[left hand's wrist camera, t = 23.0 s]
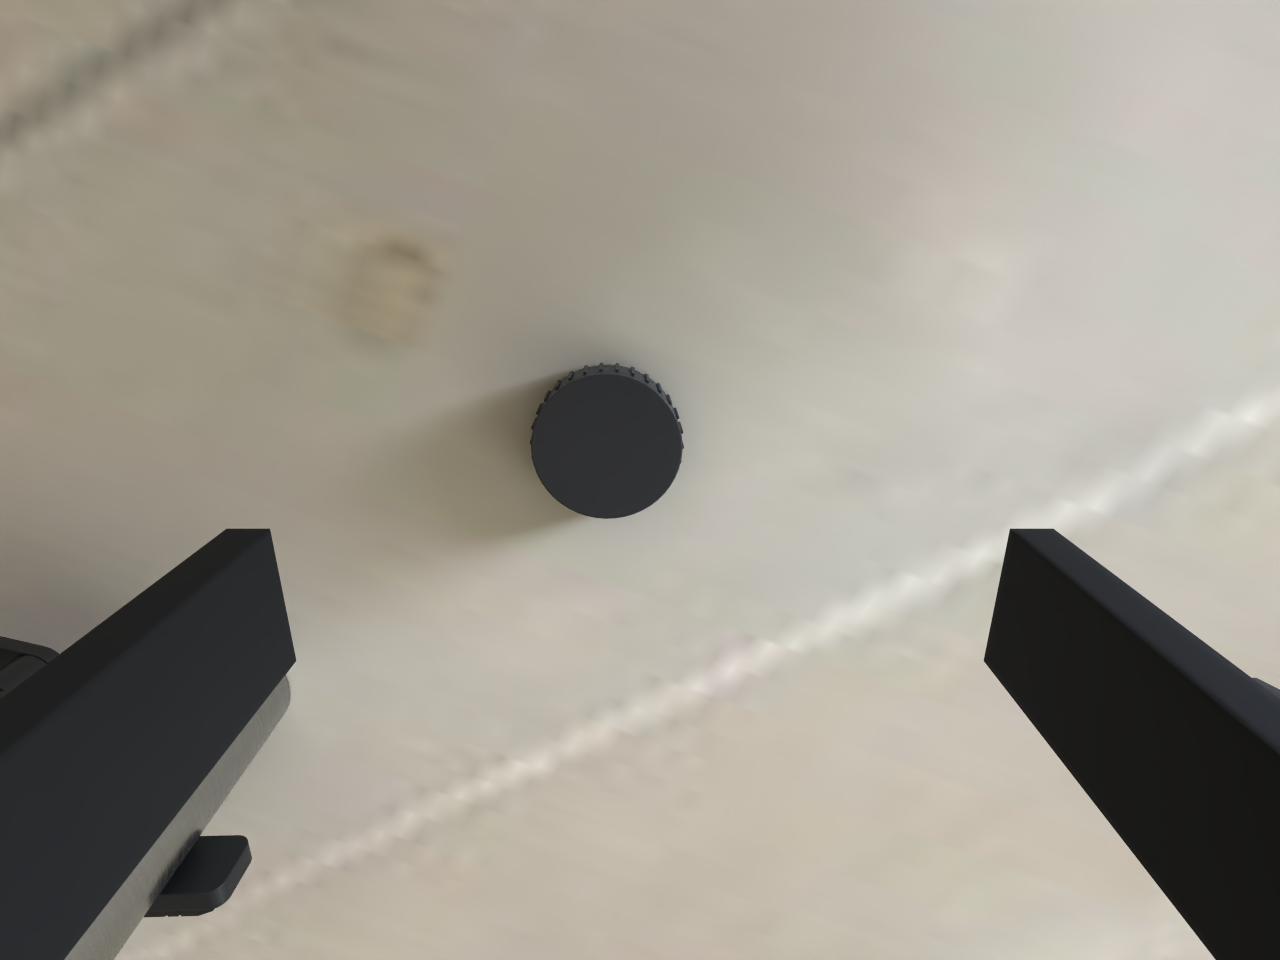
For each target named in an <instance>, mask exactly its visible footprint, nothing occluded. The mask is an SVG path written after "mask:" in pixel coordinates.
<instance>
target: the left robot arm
mask: <svg viewBox="0 0 1280 960" xmlns="http://www.w3.org/2000/svg"><path fill="white" fill-rule="evenodd" d="M295 662H296V657H295V652H294V647H293V642H292V637H291V632H290V627H289V622H288V617H287V612H286V607H285V602H284V597H283V592H282V587H281V582H280V577H279V572H278V567H277V562H276V557H275V552H274V547H273V542H272V537H271V532H270V529H226V530H224V531H223V532H222V533H220V534H219V535H218V536H216V537H215V538H214V539H212V540H211V541H210V542H209V543H207V544H206V545H205V546H203V547H202V548H201V549H199V550H198V551H197V552H195V553H194V554H193V555H191V556H190V557H189V558H187V559H186V560H185V561H183V562H182V563H181V564H179V565H178V566H177V567H175V568H174V569H173V570H171V571H170V572H169V573H167V574H166V575H165V576H163V577H162V578H161V579H159V580H158V581H157V582H155V583H154V584H153V585H151V586H150V587H149V588H147V589H146V590H145V591H143V592H142V593H141V594H139V595H138V596H137V597H135V598H134V599H133V600H131V601H130V602H129V603H127V604H126V605H125V606H123V607H122V608H121V609H119V610H118V611H117V612H115V613H114V614H113V615H111V616H110V617H109V618H107V619H106V620H105V621H103V622H102V623H101V624H99V625H98V626H97V627H95V628H94V629H93V630H91V631H90V632H89V633H88V634H86V635H85V636H84V637H82V638H81V639H80V640H78V641H77V642H76V643H74V644H73V645H72V646H70V647H69V648H68V649H66V650H65V651H64V652H62V653H61V654H60V655H58V656H57V657H56V658H54V659H53V660H52V661H50V662H49V663H48V664H46V665H45V666H44V667H42V668H41V669H40V670H38V671H37V672H36V673H34V674H33V675H32V676H30V677H29V678H28V679H26V680H25V681H23V682H21V683H19V684H17V685H15V686H13V687H11V688H9V689H7V690H5V691H3V692H1V693H0V960H64V959H65V958H66V957H67V955H68V954H69V953H70V951H71V950H72V949H73V948H74V946H75V945H76V944H77V942H78V941H79V940H80V939H81V937H82V936H83V935H84V933H85V932H86V931H87V930H88V928H89V927H90V926H91V924H92V923H93V922H94V921H95V919H96V918H97V917H98V915H99V914H100V913H101V912H102V910H103V909H104V908H105V906H106V905H107V904H108V903H109V901H110V900H111V899H112V897H113V896H114V895H115V894H116V892H117V891H118V890H119V888H120V887H121V886H122V885H123V883H124V882H125V881H126V879H127V878H128V877H129V875H130V874H131V873H132V872H133V870H134V869H135V868H136V866H137V865H138V864H139V863H140V861H141V860H142V859H143V857H144V856H145V855H146V854H147V852H148V851H149V850H150V848H151V847H152V846H153V845H154V843H155V842H156V841H157V839H158V838H159V837H160V836H161V834H162V833H163V832H164V830H165V829H166V828H167V827H168V825H169V824H170V823H171V821H172V820H173V819H174V818H175V816H176V815H177V814H178V812H179V811H180V810H181V809H182V807H183V806H184V805H185V803H186V802H187V801H188V800H189V798H190V797H191V796H192V794H193V793H194V792H195V790H196V789H197V788H198V787H199V785H200V784H201V783H202V781H203V780H204V779H205V778H206V776H207V775H208V774H209V772H210V771H211V770H212V769H213V767H214V766H215V765H216V763H217V762H218V761H219V760H220V758H221V757H222V756H223V754H224V753H225V752H226V751H227V749H228V748H229V747H230V745H231V744H232V743H233V742H234V740H235V739H236V738H237V736H238V735H239V734H240V733H241V731H242V730H243V729H244V727H245V726H246V725H247V724H248V722H249V721H250V720H251V718H252V717H253V716H254V714H255V713H256V712H257V711H258V709H259V708H260V707H261V705H262V704H263V703H264V702H265V700H266V699H267V698H268V696H269V695H270V694H271V693H272V691H273V690H274V689H275V687H276V686H277V685H278V684H279V682H280V681H281V680H282V678H283V677H284V676H285V675H286V673H287V672H288V671H289V669H290V668H291V667H292V666H293V664H294V663H295ZM984 662H985V663H986V664H987V666H988V667H989V668H990V669H991V671H992V672H993V673H994V675H995V676H996V677H997V678H998V680H999V681H1000V682H1001V684H1002V685H1003V686H1004V687H1005V689H1006V690H1007V691H1008V693H1009V694H1010V695H1011V696H1012V698H1013V699H1014V700H1015V702H1016V703H1017V704H1018V705H1019V707H1020V708H1021V709H1022V711H1023V712H1024V713H1025V714H1026V716H1027V717H1028V718H1029V720H1030V721H1031V722H1032V724H1033V725H1034V726H1035V727H1036V729H1037V730H1038V731H1039V733H1040V734H1041V735H1042V736H1043V738H1044V739H1045V740H1046V742H1047V743H1048V744H1049V745H1050V747H1051V748H1052V749H1053V751H1054V752H1055V753H1056V754H1057V756H1058V757H1059V758H1060V760H1061V761H1062V762H1063V763H1064V765H1065V766H1066V767H1067V769H1068V770H1069V771H1070V772H1071V774H1072V775H1073V776H1074V778H1075V779H1076V780H1077V781H1078V783H1079V784H1080V785H1081V787H1082V788H1083V789H1084V790H1085V792H1086V793H1087V794H1088V796H1089V797H1090V798H1091V800H1092V801H1093V802H1094V803H1095V805H1096V806H1097V807H1098V809H1099V810H1100V811H1101V812H1102V814H1103V815H1104V816H1105V818H1106V819H1107V820H1108V821H1109V823H1110V824H1111V825H1112V827H1113V828H1114V829H1115V830H1116V832H1117V833H1118V834H1119V836H1120V837H1121V838H1122V839H1123V841H1124V842H1125V843H1126V845H1127V846H1128V847H1129V848H1130V850H1131V851H1132V852H1133V854H1134V855H1135V856H1136V857H1137V859H1138V860H1139V861H1140V863H1141V864H1142V865H1143V866H1144V868H1145V869H1146V870H1147V872H1148V873H1149V874H1150V875H1151V877H1152V878H1153V879H1154V881H1155V882H1156V883H1157V885H1158V886H1159V887H1160V888H1161V890H1162V891H1163V892H1164V894H1165V895H1166V896H1167V897H1168V899H1169V900H1170V901H1171V903H1172V904H1173V905H1174V906H1175V908H1176V909H1177V910H1178V912H1179V913H1180V914H1181V915H1182V917H1183V918H1184V919H1185V921H1186V922H1187V923H1188V924H1189V926H1190V927H1191V928H1192V930H1193V931H1194V932H1195V933H1196V935H1197V936H1198V937H1199V939H1200V940H1201V941H1202V942H1203V944H1204V945H1205V946H1206V948H1207V949H1208V950H1209V951H1210V953H1211V954H1212V955H1213V957H1214V958H1215V959H1216V960H1280V690H1279V689H1277V688H1275V687H1273V686H1271V685H1269V684H1267V683H1265V682H1263V681H1261V680H1259V679H1257V678H1251V677H1250V676H1248V675H1247V674H1246V673H1244V672H1243V671H1242V670H1240V669H1239V668H1238V667H1236V666H1235V665H1234V664H1232V663H1231V662H1230V661H1228V660H1227V659H1226V658H1224V657H1223V656H1222V655H1220V654H1219V653H1218V652H1216V651H1215V650H1214V649H1212V648H1211V647H1210V646H1208V645H1207V644H1206V643H1204V642H1203V641H1202V640H1200V639H1199V638H1198V637H1196V636H1195V635H1194V634H1192V633H1191V632H1190V631H1189V630H1187V629H1186V628H1185V627H1183V626H1182V625H1181V624H1179V623H1178V622H1177V621H1175V620H1174V619H1173V618H1171V617H1170V616H1169V615H1167V614H1166V613H1165V612H1163V611H1162V610H1161V609H1159V608H1158V607H1157V606H1155V605H1154V604H1153V603H1151V602H1150V601H1149V600H1147V599H1146V598H1145V597H1143V596H1142V595H1141V594H1139V593H1138V592H1137V591H1135V590H1134V589H1133V588H1131V587H1130V586H1129V585H1127V584H1126V583H1125V582H1123V581H1122V580H1121V579H1119V578H1118V577H1117V576H1115V575H1114V574H1113V573H1111V572H1110V571H1109V570H1107V569H1106V568H1105V567H1103V566H1102V565H1101V564H1099V563H1098V562H1097V561H1095V560H1094V559H1093V558H1091V557H1090V556H1089V555H1087V554H1086V553H1085V552H1083V551H1082V550H1081V549H1079V548H1078V547H1077V546H1075V545H1074V544H1073V543H1071V542H1070V541H1069V540H1068V539H1066V538H1065V537H1064V536H1062V535H1061V534H1060V533H1058V532H1057V531H1056V530H1054V529H1010V532H1009V537H1008V542H1007V547H1006V552H1005V557H1004V562H1003V567H1002V572H1001V577H1000V582H999V587H998V592H997V597H996V602H995V607H994V612H993V617H992V622H991V627H990V632H989V637H988V642H987V647H986V652H985V657H984Z"/></svg>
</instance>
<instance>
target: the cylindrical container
mask: <svg viewBox="0 0 1280 960" xmlns="http://www.w3.org/2000/svg"><path fill="white" fill-rule="evenodd" d="M289 701H290V686H289V683H288V680H287V677H286V675H285V676H284V677H283V678H282V680H281V681H280V682H279V684H278V685H277V686H276V687H275V689H274V690H273V691H272V693H271V694H270V695H269V696H268V698H267V699H266V700H265V702H264V703H263V704H262V705H261V707H260V708H259V709H258V711H257V712H256V713H255V714H254V716H253V717H252V718H251V720H250V721H249V722H248V724H247V725H246V726H245V727H244V729H243V730H242V731H241V733H240V734H239V735H238V736H237V738H236V739H235V740H234V742H233V743H232V744H231V745H230V747H229V748H228V749H227V751H226V752H225V753H224V754H223V756H222V757H221V758H220V760H219V761H218V762H217V763H216V765H215V766H214V767H213V769H212V770H211V771H210V772H209V774H208V775H207V776H206V778H205V779H204V780H203V781H202V783H201V784H200V785H199V787H198V788H197V789H196V790H195V792H194V793H193V794H192V796H191V797H190V798H189V800H188V801H187V802H186V803H185V805H184V806H183V807H182V809H181V810H180V811H179V812H178V814H177V815H176V816H175V818H174V819H173V820H172V821H171V823H170V824H169V825H168V827H167V828H166V829H165V830H164V832H163V833H162V834H161V836H160V837H159V838H158V839H157V841H156V842H155V843H154V845H153V846H152V847H151V848H150V850H149V851H148V852H147V854H146V855H145V856H144V857H143V859H142V860H141V861H140V863H139V864H138V865H137V866H136V868H135V869H134V870H133V872H132V873H131V874H130V875H129V877H128V878H127V879H126V881H125V882H124V883H123V885H122V886H121V887H120V888H119V890H118V891H117V892H116V894H115V895H114V896H113V897H112V899H111V900H110V901H109V903H108V904H107V905H106V906H105V908H104V909H103V910H102V912H101V913H100V914H99V915H98V917H97V918H96V919H95V921H94V922H93V923H92V924H91V926H90V927H89V928H88V930H87V931H86V932H85V933H84V935H83V936H82V937H81V939H80V940H79V941H78V942H77V944H76V945H75V946H74V948H73V949H72V950H71V951H70V953H69V954H68V955H67V957H66V958H65V959H64V960H114V959H115V957H116V956H117V954H118V953H119V951H120V950H121V949H122V947H123V946H124V944H125V943H126V941H127V940H128V938H129V937H130V936H131V934H132V933H133V931H134V930H135V928H136V927H137V926H138V924H139V923H140V921H141V920H142V918H143V917H144V915H145V914H146V913H147V911H148V910H149V908H150V907H151V905H152V904H153V902H154V901H155V900H156V898H157V897H158V895H159V894H160V892H161V891H162V889H163V888H164V887H165V885H166V884H167V882H168V881H169V879H170V878H171V877H172V875H173V874H174V872H175V871H176V869H177V868H178V866H179V865H180V864H181V862H182V861H183V859H184V858H185V856H186V855H187V853H188V852H189V851H190V849H191V848H192V846H193V845H194V843H195V842H196V841H197V839H198V838H199V836H200V835H201V833H202V832H203V830H204V829H205V828H206V826H207V825H208V823H209V822H210V820H211V819H212V817H213V816H214V815H215V813H216V812H217V810H218V809H219V807H220V806H221V804H222V803H223V802H224V800H225V799H226V797H227V796H228V794H229V793H230V792H231V790H232V789H233V787H234V786H235V784H236V783H237V781H238V780H239V779H240V777H241V776H242V774H243V773H244V771H245V770H246V768H247V767H248V766H249V764H250V763H251V761H252V760H253V758H254V757H255V755H256V754H257V753H258V751H259V750H260V748H261V747H262V745H263V744H264V743H265V741H266V740H267V738H268V737H269V735H270V734H271V732H272V731H273V730H274V728H275V727H276V725H277V724H278V722H279V721H280V719H281V718H282V717H283V715H284V714H285V712H286V710H287V708H288V705H289Z"/></svg>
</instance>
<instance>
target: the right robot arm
mask: <svg viewBox="0 0 1280 960" xmlns="http://www.w3.org/2000/svg"><path fill="white" fill-rule="evenodd" d="M58 655H59V654H58V653H57V652H56V651H54V650H53V649H51V648H48V647H44V646H40V645H36V644H31V643H27V642H23V641H18V640H14V639H10V638H5V637H1V636H0V693H1V692H3V691H5V690H7V689H9V688H11V687H13V686H15V685H17V684H19V683H21V682H23V681H25V680H26V679H28V678H29V677H30V676H32V675H33V674H34V673H36V672H37V671H38V670H40V669H41V668H42V667H44V666H45V665H46V664H48V663H49V662H50V661H52V660H53V659H54V658H56V657H57V656H58ZM251 859H252V856H251V852H250V848H249V844H248V840H247V838H246V837H244V836H241V835H234V836H199V838H198V839H197V841H196V842H195V843H194V845H193V846H192V848H191V849H190V851H189V852H188V853H187V855H186V856H185V858H184V859H183V861H182V862H181V864H180V865H179V866H178V868H177V869H176V871H175V872H174V874H173V875H172V877H171V878H170V879H169V881H168V882H167V884H166V885H165V887H164V888H163V889H162V891H161V892H160V894H159V895H158V897H157V898H156V900H155V901H154V902H153V904H152V905H151V907H150V908H149V910H148V911H147V913H146V914H145V915H144V917H165V916H166V915H168V917H169V916H179V915H181V916H199V915H202V914H205V913H208V912H211V911H213V910H214V909H215V908H217V907H219V906H221V905H222V904H224V903H225V902H226V901H227V900H228V899H229V898H230V896H231V895H232V893H233V891H234V890H235V888H236V886H237V885H238V883H239V881H240V880H241V878H242V876H243V874H244V873H245V871H246V869H247V868H248V866H249V864H250V862H251Z"/></svg>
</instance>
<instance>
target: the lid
mask: <svg viewBox="0 0 1280 960" xmlns="http://www.w3.org/2000/svg"><path fill="white" fill-rule="evenodd" d="M536 414H537V415H538V416H537V418H535V420H534V423H533V425H532V428H531V429H533V432H532V438H531V441H530V444H531V451H532V459H533V463H534V467H535V469H536V472H537V475H538V477H539V478H540V480H541V482H542V484H543V485H544V487H545V488H546V489H547V491H548V492H549V493H550V494H551V495H552V496H553V497H554V498H555V499H556V500H557V501H559V502H560V503H561V504H563V505H564V506H566V507H567V508H569V509H571V510H573V511H575V512H577V513H580V514H583V515H586V516H590V517H595V518H605V519H606V518H619V517H625V516H628V515H632V514H635V513H637V512H639V511H642V510H644V509H645V508H647V507H649V506H650V505H652V504H653V503H654V502H656V501H657V500H658V499H659V498H660V497H661V496H662V495H663V494H664V493H665V492H666V491H667V489H668V488H669V487H670V486H671V484H672V482H673V480H674V479H675V477H676V474H677V472H678V470H679V466H680V464H681V457H682V449H683V448H684V445H683V442H682V436H681V434H682V433H683V430H682V427H681V424H680V422H678V420H677V419H679V416H678V413H677V410H676V408H673V406H672V402H671V398H670V396H669V394H668V395H666V394H665V393H664V392H663V390H662V389H661V385H660V384H659V383H657V384H656V383H655V382H654V381H652V380H651V379H649V376H648V374H645V375H643V374H641V373H640V372H638V371H635V370H634V367H631V369H630V368H626V367H622V366H619V364H618V363H616V365H603V363H600V365H598V366H592V367H588V365H586V366H584V369H581V370H579V371H577V372H575V373H574V372H573V371H571V372H570V374H569V376H568V377H566V378H564V379H563V380H562V381H561V380H558V381H557V384H556V386H555V388H554V389H553V390H552V391H551V392H550V391H548V392H547V394H546V396H545V399H544V403H543V404H540V406H539V408H538V410H537V413H536Z"/></svg>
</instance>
